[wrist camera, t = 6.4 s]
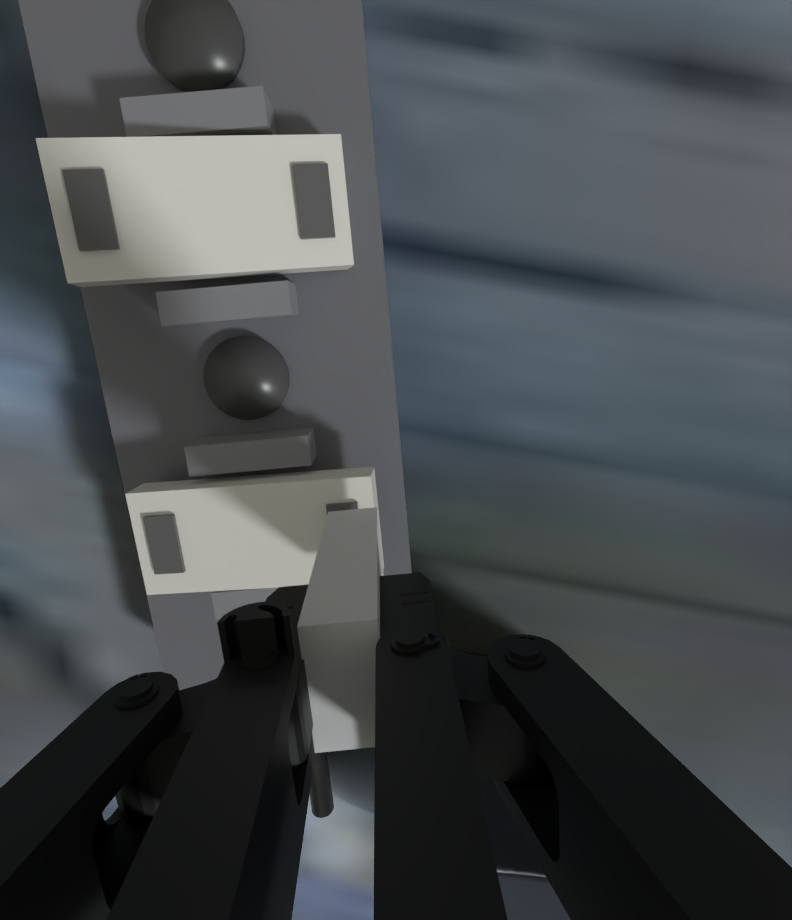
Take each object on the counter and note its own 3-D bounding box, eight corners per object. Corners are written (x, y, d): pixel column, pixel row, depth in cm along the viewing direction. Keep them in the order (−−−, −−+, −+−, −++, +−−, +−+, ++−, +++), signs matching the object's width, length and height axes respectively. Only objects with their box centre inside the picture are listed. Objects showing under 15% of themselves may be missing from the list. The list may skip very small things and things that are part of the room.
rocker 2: (163, 578, 20) (144, 597, 18) (143, 482, 19) (122, 495, 17) (384, 565, 19) (381, 583, 18) (374, 466, 18) (370, 477, 17)
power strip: (222, 797, 26) (190, 892, 22) (70, 32, 19) (-27, -61, 14) (428, 776, 26) (438, 868, 22) (360, 7, 19) (354, -92, 14)
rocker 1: (80, 287, 16) (65, 282, 15) (52, 152, 15) (33, 135, 14) (347, 269, 18) (355, 264, 17) (335, 147, 17) (341, 132, 16)
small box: (439, 646, 25) (482, 868, 15) (577, 663, 25) (712, 889, 15) (404, 833, 27) (419, 1135, 17) (530, 845, 28) (619, 1147, 18)
